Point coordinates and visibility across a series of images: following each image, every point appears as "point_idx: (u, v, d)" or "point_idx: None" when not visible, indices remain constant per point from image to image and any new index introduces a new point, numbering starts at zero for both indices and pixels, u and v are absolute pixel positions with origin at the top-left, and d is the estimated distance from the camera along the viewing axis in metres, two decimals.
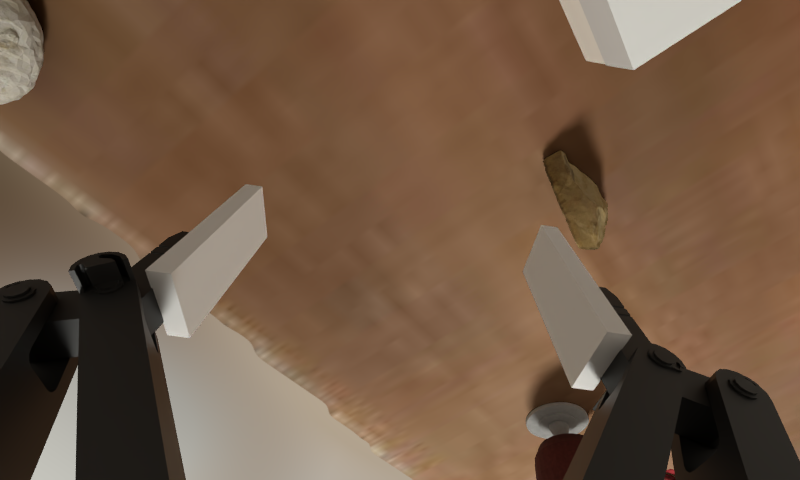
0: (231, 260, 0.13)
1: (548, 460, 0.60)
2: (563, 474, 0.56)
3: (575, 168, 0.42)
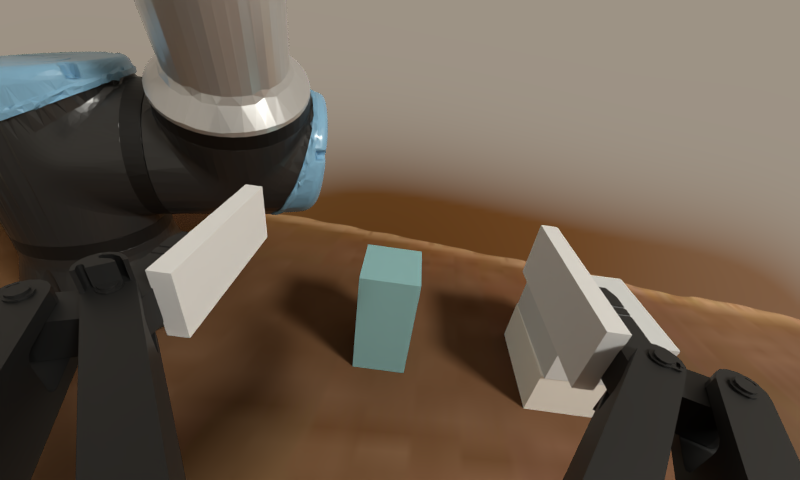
0: (231, 260, 0.13)
1: None
2: None
3: None
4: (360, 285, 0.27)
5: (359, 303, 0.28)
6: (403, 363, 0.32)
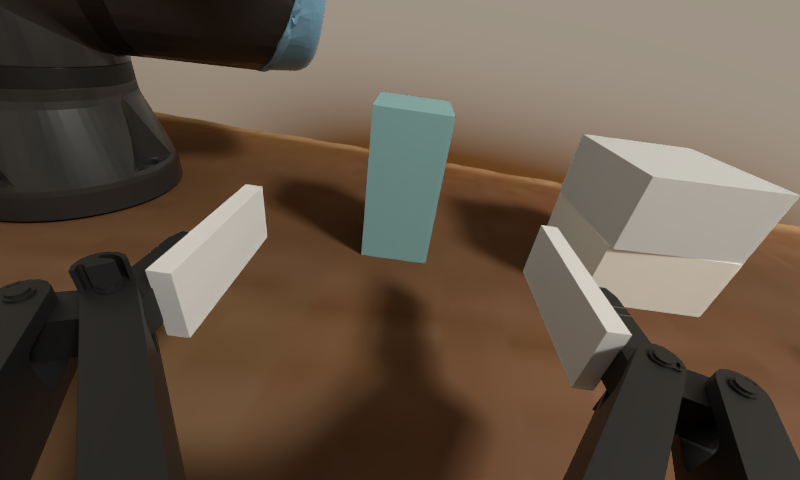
0: (231, 260, 0.13)
1: None
2: None
3: None
4: (374, 118, 0.20)
5: (372, 149, 0.22)
6: (426, 248, 0.25)
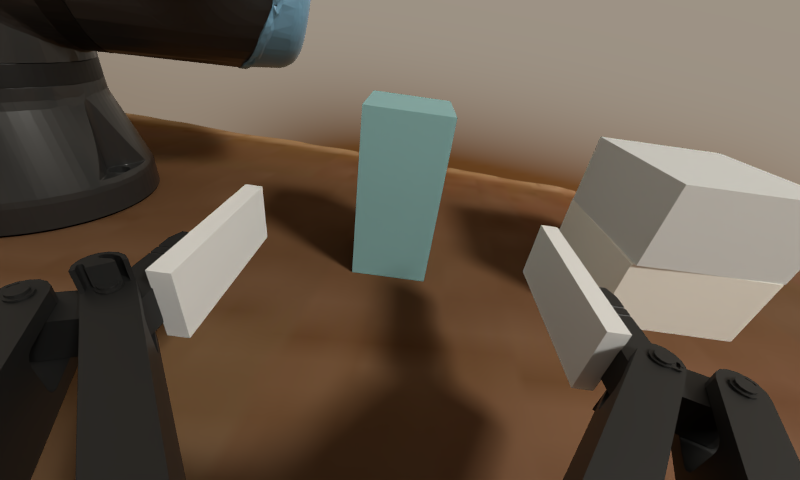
0: (231, 260, 0.13)
1: None
2: None
3: None
4: (364, 119, 0.18)
5: (362, 155, 0.19)
6: (424, 264, 0.23)
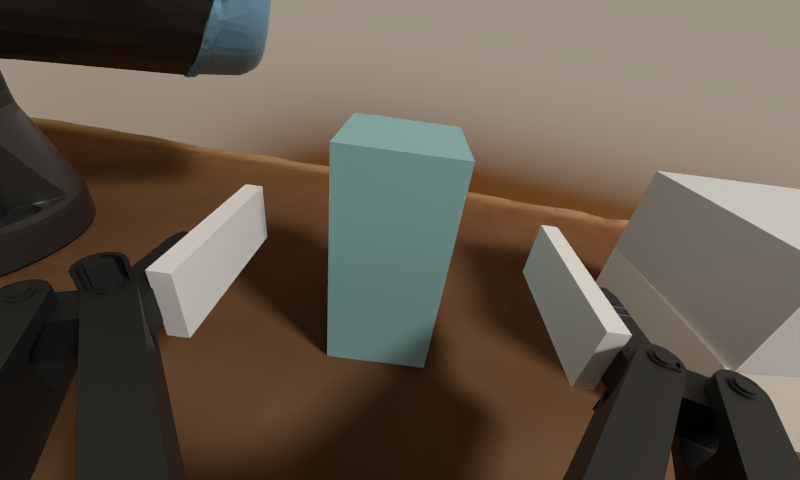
0: (231, 260, 0.13)
1: None
2: None
3: None
4: (333, 163, 0.12)
5: (333, 213, 0.13)
6: (424, 349, 0.17)
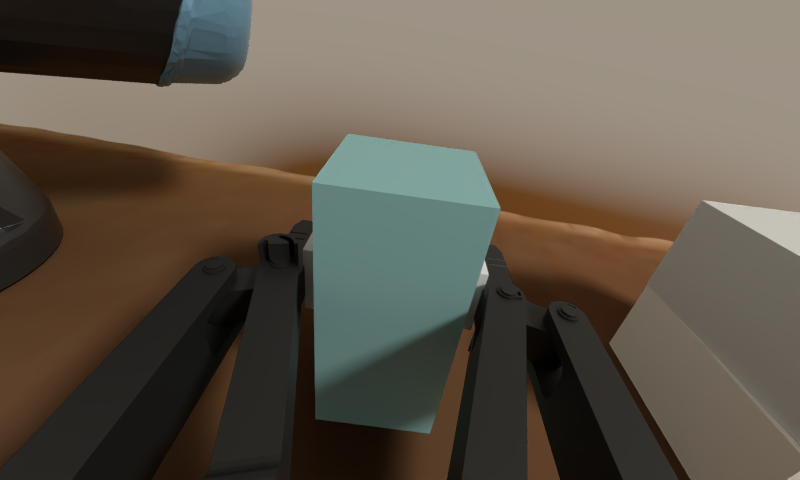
0: None
1: None
2: None
3: None
4: (317, 208, 0.09)
5: (319, 266, 0.10)
6: (431, 414, 0.14)
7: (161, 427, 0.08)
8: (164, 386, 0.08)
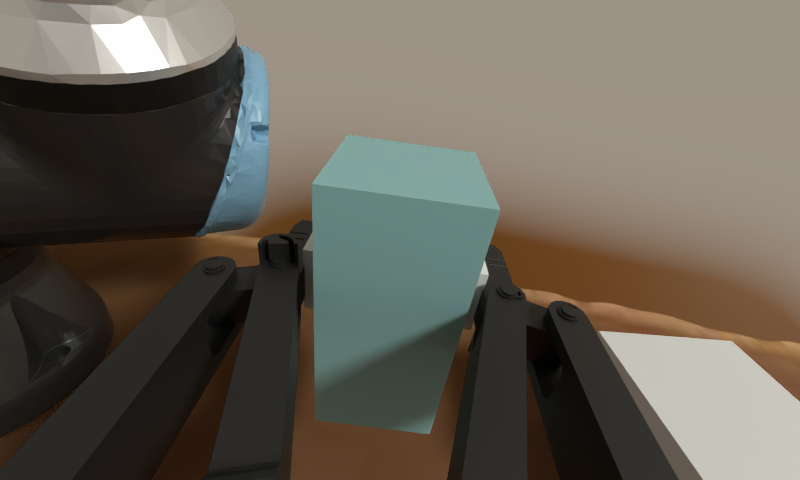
0: None
1: None
2: None
3: None
4: (317, 210, 0.09)
5: (319, 267, 0.10)
6: (431, 415, 0.14)
7: (161, 427, 0.08)
8: (164, 386, 0.08)
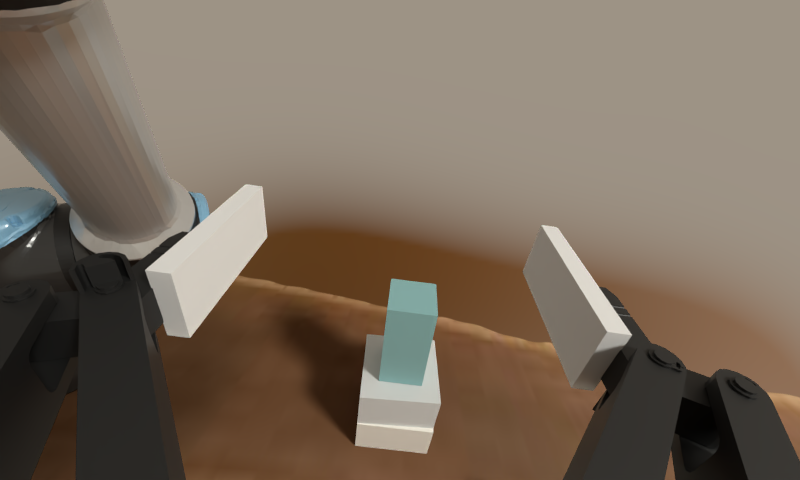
0: (231, 260, 0.13)
1: None
2: None
3: None
4: (388, 315, 0.33)
5: (386, 329, 0.34)
6: (421, 378, 0.38)
7: None
8: None
